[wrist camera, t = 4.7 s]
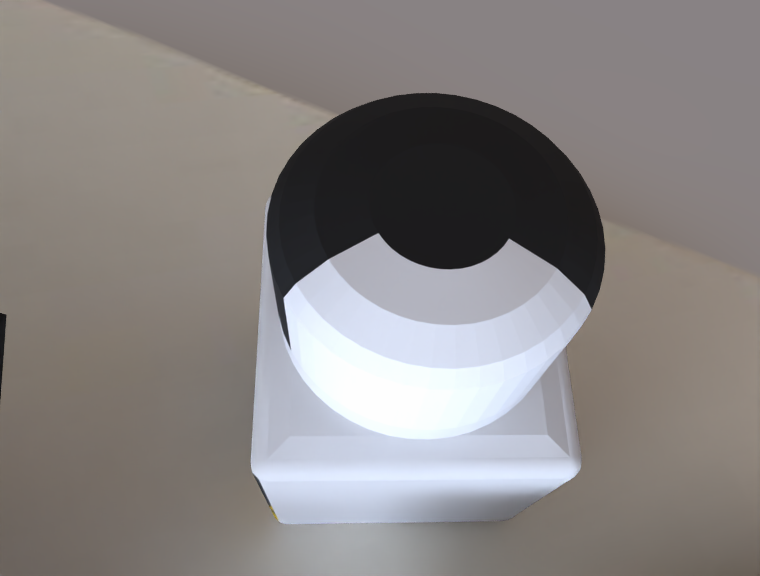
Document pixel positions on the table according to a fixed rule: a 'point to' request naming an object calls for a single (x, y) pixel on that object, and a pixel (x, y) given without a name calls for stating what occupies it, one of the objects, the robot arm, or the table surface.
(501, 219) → the medicine bottle
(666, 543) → the table surface
